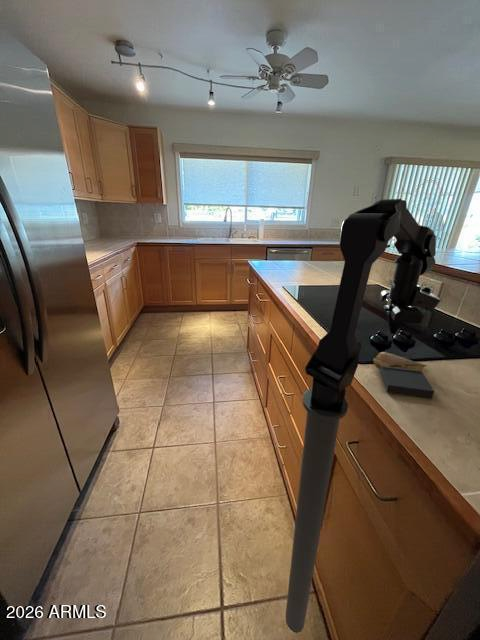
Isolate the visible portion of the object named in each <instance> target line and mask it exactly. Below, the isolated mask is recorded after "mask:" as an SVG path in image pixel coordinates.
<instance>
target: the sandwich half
mask: <svg viewBox="0 0 480 640" xmlns="http://www.w3.org/2000/svg"><path fill="white" fill-rule="evenodd" d="M373 364H375V365H378V366H379V367H381V366H387V367H395V368H403V369H411V370H424V368H426V367H428V365H427V364H423V363H420V362H417V361H413V360H411V359H409V358H406V357H403V356H400V355H396V354H394V353H390V352H387V351H381V352H379V353H378V354H377V355H376V356H375V357H374V358H373Z"/></svg>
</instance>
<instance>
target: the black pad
mask: <svg viewBox="0 0 480 640" xmlns="http://www.w3.org/2000/svg"><path fill="white" fill-rule="evenodd" d="M379 374H380V377H381V380H382V382H383V386H384V388H385V391H386V393H391V394H397V395H405V396H411V397H418V398H425V399H431V400H432V399H433V396H434V394H435V390H434V388H433V386H432V385H431V384H430V381H429V380H428V378H426V376H425V374H424V372H423V370H421V369H419V370H411V369H403V368H395V367H387V366H380V370H379Z"/></svg>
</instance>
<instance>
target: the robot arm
mask: <svg viewBox="0 0 480 640" xmlns="http://www.w3.org/2000/svg"><path fill="white" fill-rule="evenodd" d="M407 207H408V205H407V200H404V199H402V198H389V199H387V198H384V199H380V200H377V201H376V202H374V203H373V204H372V205H369V206H367V207H363V208H361V209H359V210H356V211H354V212H353V213H351V214H349V215H348V216H347V218H344V220H343V221H342V223H341V226H340V230H339V231H340V232H339V233H340V234H339V235H340V237H339V245H338V246H339V249H340V252H341V255H342V258H343V260H344V262H343V268H342V273H341V276H340V277H341V278H340V281H339V287H338V289H337V290H338V291H337V294H336V299H335V304H334V308H333V313H332V318H331V322H330V326H329V327H330V328H329V331H328V332H327V333H326V334H325V335H323V336H322V337H321V338H320V339H319V341H318V344H317V347H316V349H315V350H314V352H313V354H312V355H311V357H310V359H309V361H308V362H307V364H306V365H305V366H304V371H305V374H306V375H307V376H309V377H310V378H312V383H311V388H312V389H311V388H310V389H311V393H310V408H312V409H318V410H324V411H330V412H336V413H341V406H342V405H343V403H344V398H345V397H346V388H348V387H349V386H350V385H352V383H353V379H354V378H355V375H356V371H357V369H358V366H359V359H360V358H359V357H360V352H361V349H362V342H361V341H358V340H357V338H356V330H357V325H358V321H359V318H360V314H361V310H362V306H363V302H364V297H365V294H366V291H367V285H368V282H369V278H370V275H371V270H372V265H373V264H374V263H375V262H376V261H377V260H378V259H379V258H380V257H381V256H382V255H383V254H384V253H385V252H386V249H387V247H388V244H389V241H390V240H392V238H394V242H393V245H394V247H395V249H396V251H397V252H398V254H399V255H400V256H399V257H396V259H395V260H394V263H395V267H394V272H393V276H392V280H389V285H390V289H383V290H382V291H380V293H379V300H380V301H381V302H384V301H385V299H386V302H387V303H386V304H385V305H383V310H384V313H385V317H386V321H387V325H388V328H389V333H390V334H391V335H395V334H396V333H397V332H398V331H399V329H400V327H402V324H403V323H406V324H417V325H422V324H423V323H424V319H425V315H424V313H422V312H421V310H420V309H419V308H418V305H419V306H422V307H425V308H427V309H428V310H430V311H435V309H436V308H437V306H438V305H439V304H440V303H441V301H442V299H441V298H439V297H438V296H437V295H435V294H434V293H432V292H431V291H432V289H431V288H429V287H428V286H425V285H422V286H421V285H419V280H420V276H423V275H424V274H427V273H430V272H431V271H432V270H433V269H434V268H435V266H436V263H437V262H436V258H435V256H436V254H437V252H436V251H437V250H436V249H437V235H436V234H435V231H434V230H433V229H432V228H431V227H430V226H425V225H421V224H419V223H418V222H417V220H416V218H415V217H414V216H413V214H412V213H411V212H410V211H409V209H408V208H407Z"/></svg>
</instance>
